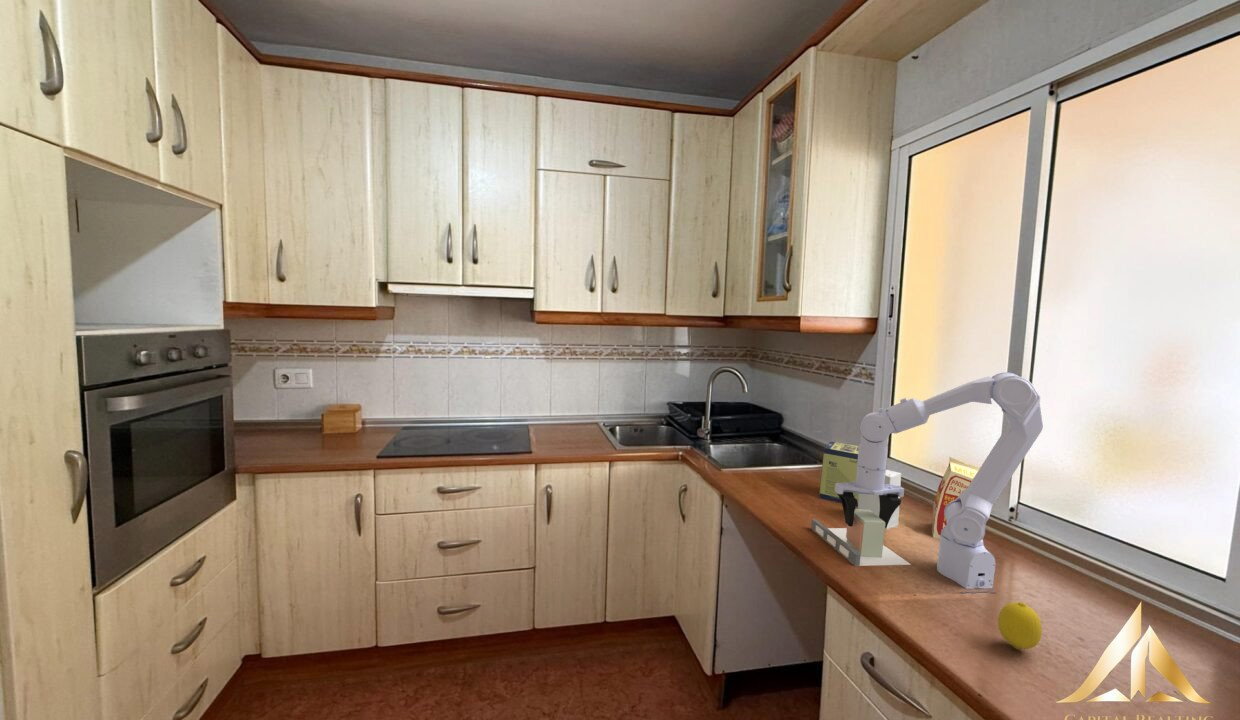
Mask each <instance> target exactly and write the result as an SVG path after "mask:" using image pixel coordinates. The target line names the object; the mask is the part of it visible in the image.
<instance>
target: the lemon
mask: <svg viewBox="0 0 1240 720" xmlns="http://www.w3.org/2000/svg"><path fill="white" fill-rule="evenodd" d="M997 624H998V629H999V633H1000V634H1001V636H1002V637H1003V639H1004V640H1005V641H1006V642H1008V644H1009V645H1011V646H1012V647H1013V648H1014V649H1015V648H1016V649H1015V650H1017V649H1019V650H1022V649H1023V650H1029V649H1032V648H1034V647H1036V646H1037V645H1038V644H1039V642H1040V641H1041V638H1042V632H1043V631H1042V629H1043V628H1042V623H1041V619H1040V617H1039V615H1038V614H1037V613H1036V611H1035V610H1034V609H1032V608H1031V607H1030V606H1028V605H1026V603H1025V602H1024V601H1020V602H1016V601H1015V602H1009V603H1007V604H1004V606H1003V607H1002V609H1000V612H999V615H998V619H997Z"/></svg>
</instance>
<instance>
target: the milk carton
mask: <svg viewBox="0 0 1240 720" xmlns="http://www.w3.org/2000/svg"><path fill="white" fill-rule="evenodd" d="M948 459H949V463H948V467H947V468H946V470H945V472H944V474H943V476H942V478H941V480H940V482H939V485H938V487H937V492H936V495H935V498H934V503H933V506H932V519H931V531H932V532H931V533H932V537H933V538H934V539H939V540H940V537H941V530H942V529H944V528H945V527H946V526H947V521H946V518H945V516H944V509H945V507H946V506H947V504H949V503H950V502H952V501H954V500H956V499H957V498H958V497H959V495H960V494H961V493H962V492H963V491H964V490H966V489H967V488H968V486H969V485H970V483H971V481H972V480H973V478H974V477H975V475H976V474H977V472H978V470H979V469H980V467H981V466H979V465H975V464H971V463H966V462H964V461H962V460H959V459H957V458H954V457H952V456H949V457H948Z"/></svg>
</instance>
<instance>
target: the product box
mask: <svg viewBox="0 0 1240 720" xmlns="http://www.w3.org/2000/svg"><path fill="white" fill-rule="evenodd" d="M846 528H847V532H846V538H847V543H848V544H849V545H850V546H851V547H852V548H853V549H854V550H855V551H857V552H858V553H859V554H860V555H861V557H879V558H882V551H883V545H884V540H885V530H886V529H885V522H884V521H883V520H882V519H880V518H879V517H878V516H877V515H875V514H874V513H873V512H872V511H870V510H863V509H858V508H855V511H854V521H853V526H848V525H847V524H846Z"/></svg>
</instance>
